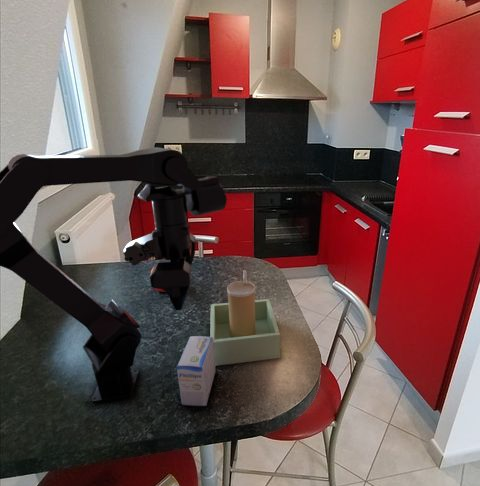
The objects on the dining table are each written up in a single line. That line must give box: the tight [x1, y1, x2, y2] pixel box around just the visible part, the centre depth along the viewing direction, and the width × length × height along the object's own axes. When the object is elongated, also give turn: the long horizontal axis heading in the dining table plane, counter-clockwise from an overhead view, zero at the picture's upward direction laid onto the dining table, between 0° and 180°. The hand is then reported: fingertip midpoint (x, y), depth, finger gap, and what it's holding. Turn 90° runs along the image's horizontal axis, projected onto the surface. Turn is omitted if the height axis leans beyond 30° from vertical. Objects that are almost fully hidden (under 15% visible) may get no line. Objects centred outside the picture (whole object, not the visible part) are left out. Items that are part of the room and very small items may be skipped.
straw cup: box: [226, 269, 256, 338], centre depth 69 cm, size 6×6×15 cm
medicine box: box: [176, 335, 216, 407], centre depth 57 cm, size 8×4×9 cm, turn 178°
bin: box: [209, 298, 281, 367], centre depth 70 cm, size 14×14×6 cm
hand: (181, 296), depth 63 cm, fingers open, 9 cm apart
